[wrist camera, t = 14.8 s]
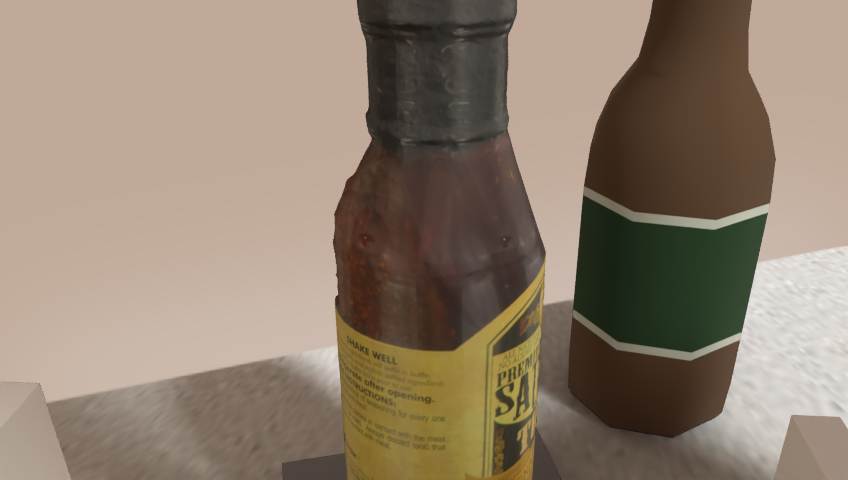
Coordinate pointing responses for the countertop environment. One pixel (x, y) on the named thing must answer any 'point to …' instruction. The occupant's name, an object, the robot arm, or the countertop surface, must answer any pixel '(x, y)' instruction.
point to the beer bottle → (671, 224)
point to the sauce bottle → (438, 255)
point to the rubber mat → (329, 473)
